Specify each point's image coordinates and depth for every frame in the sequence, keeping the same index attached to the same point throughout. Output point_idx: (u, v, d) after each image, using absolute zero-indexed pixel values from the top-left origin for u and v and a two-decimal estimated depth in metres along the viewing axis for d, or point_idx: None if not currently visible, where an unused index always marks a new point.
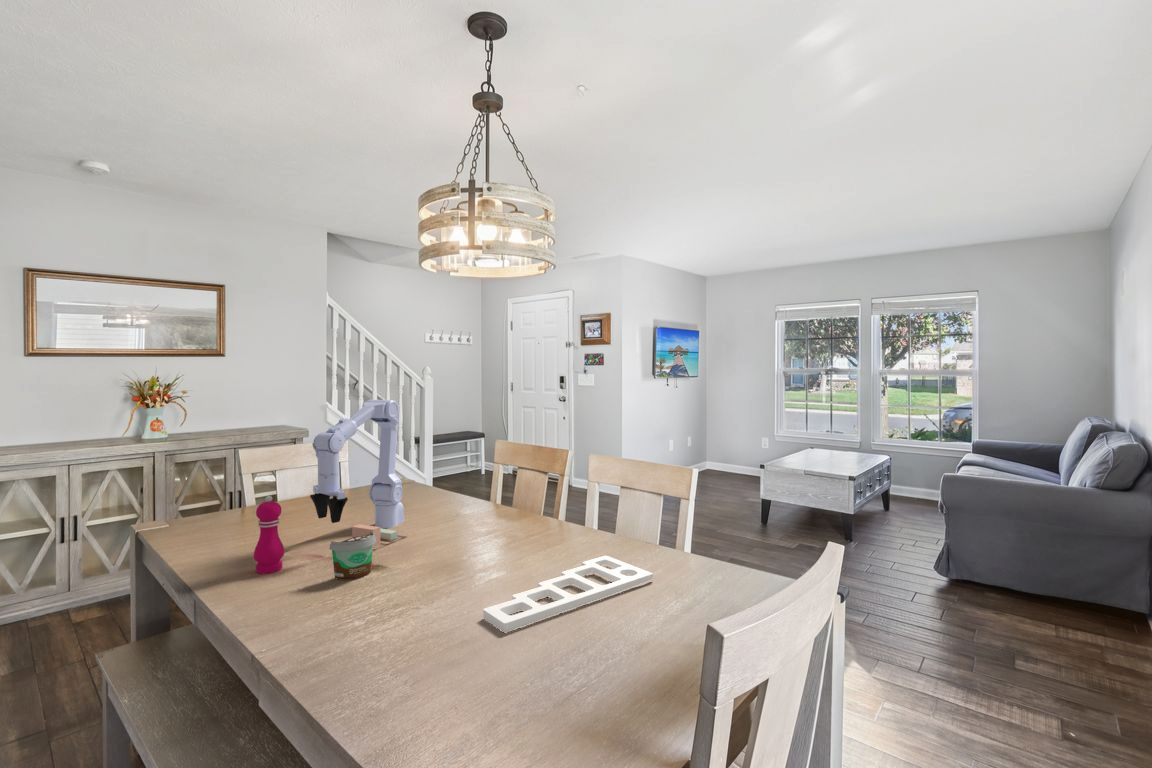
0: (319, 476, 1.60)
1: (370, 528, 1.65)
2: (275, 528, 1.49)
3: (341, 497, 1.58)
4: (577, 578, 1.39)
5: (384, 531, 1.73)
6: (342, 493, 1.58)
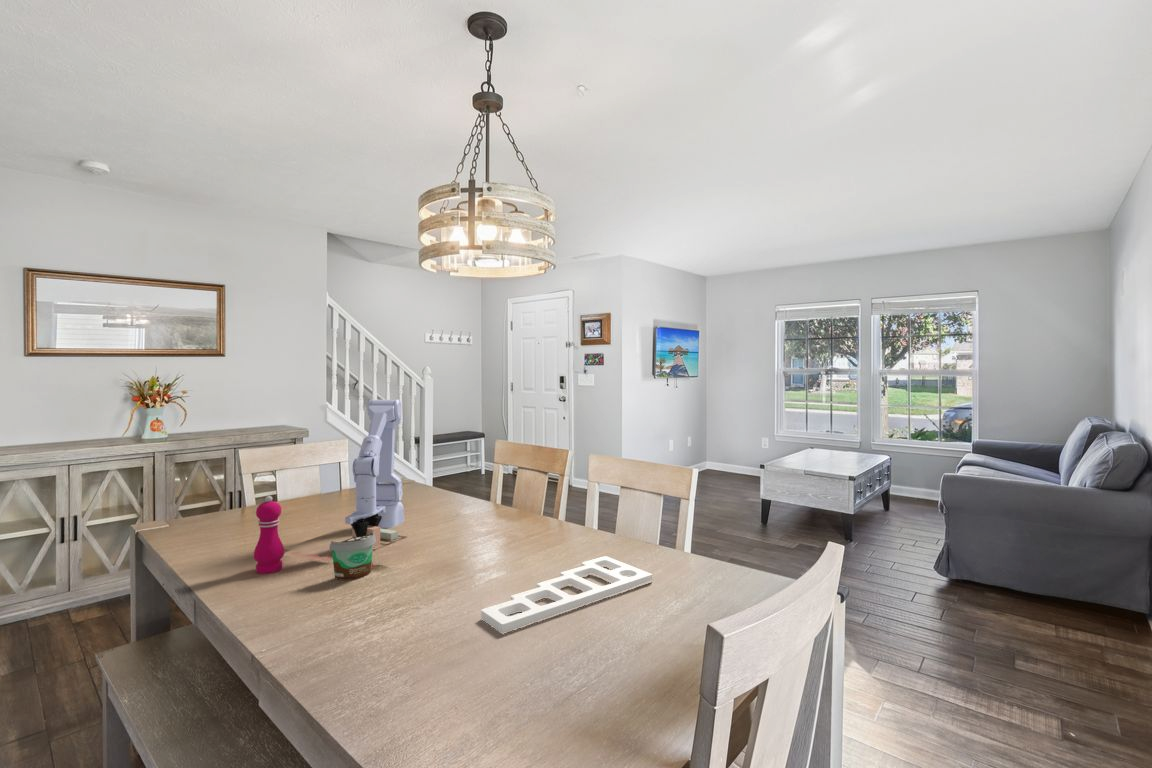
0: None
1: (370, 528, 1.65)
2: (275, 528, 1.49)
3: (347, 522, 1.60)
4: (576, 579, 1.39)
5: (384, 531, 1.73)
6: (348, 518, 1.59)
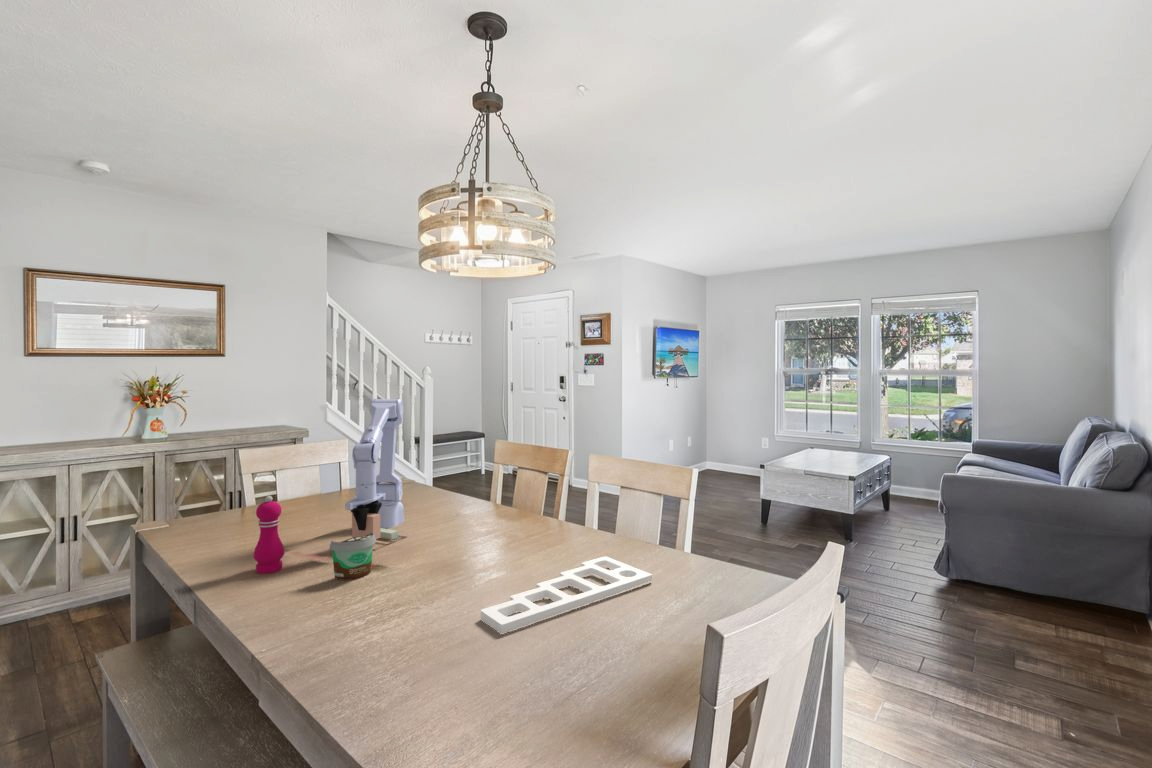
0: None
1: (370, 515, 1.65)
2: (275, 528, 1.49)
3: (347, 508, 1.60)
4: (576, 579, 1.39)
5: (385, 531, 1.74)
6: (348, 504, 1.59)
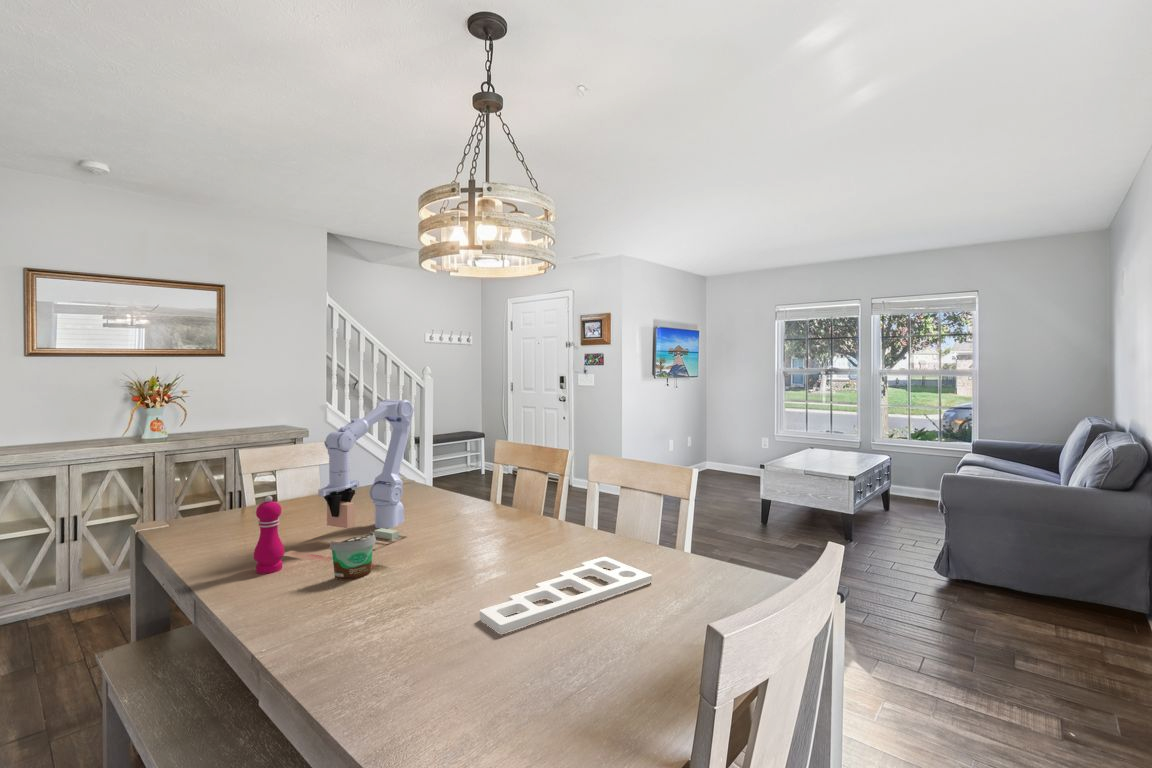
0: None
1: (344, 504, 1.68)
2: (275, 528, 1.49)
3: (320, 495, 1.63)
4: (575, 579, 1.39)
5: (385, 531, 1.74)
6: (321, 491, 1.63)
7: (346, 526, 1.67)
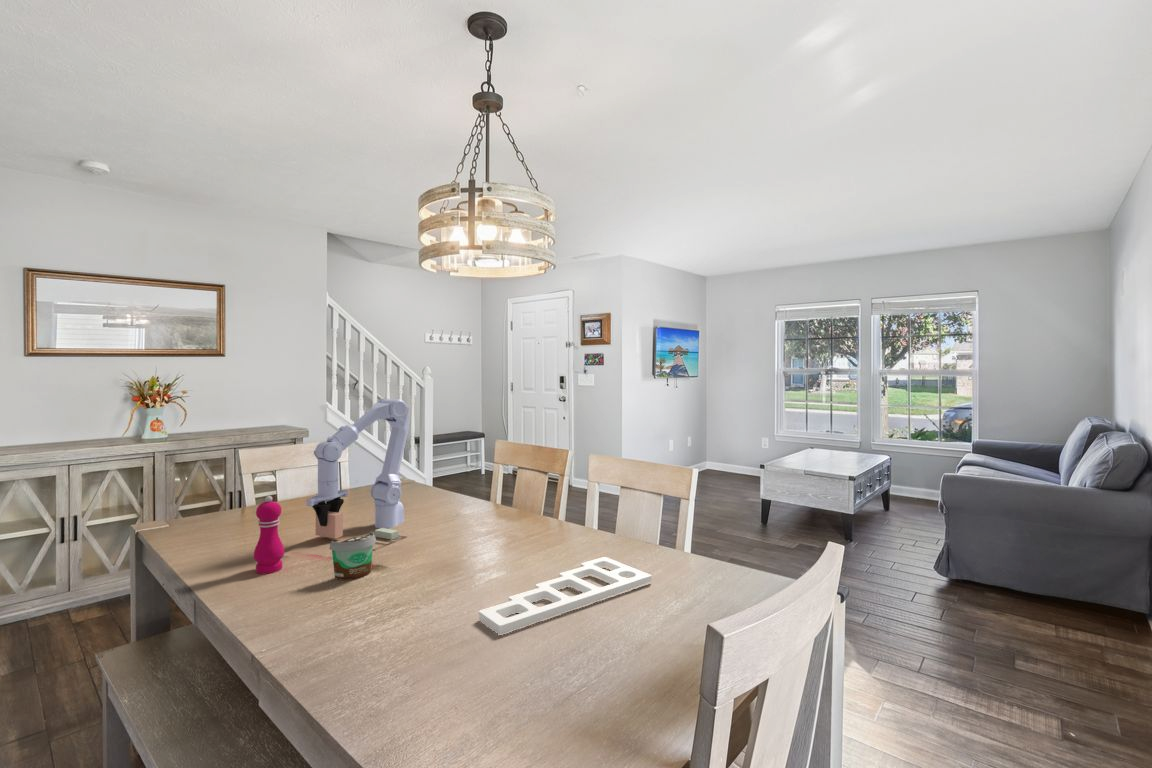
0: None
1: (333, 514, 1.70)
2: (275, 528, 1.49)
3: (308, 504, 1.65)
4: (575, 580, 1.38)
5: (385, 531, 1.74)
6: (309, 501, 1.65)
7: (334, 536, 1.69)
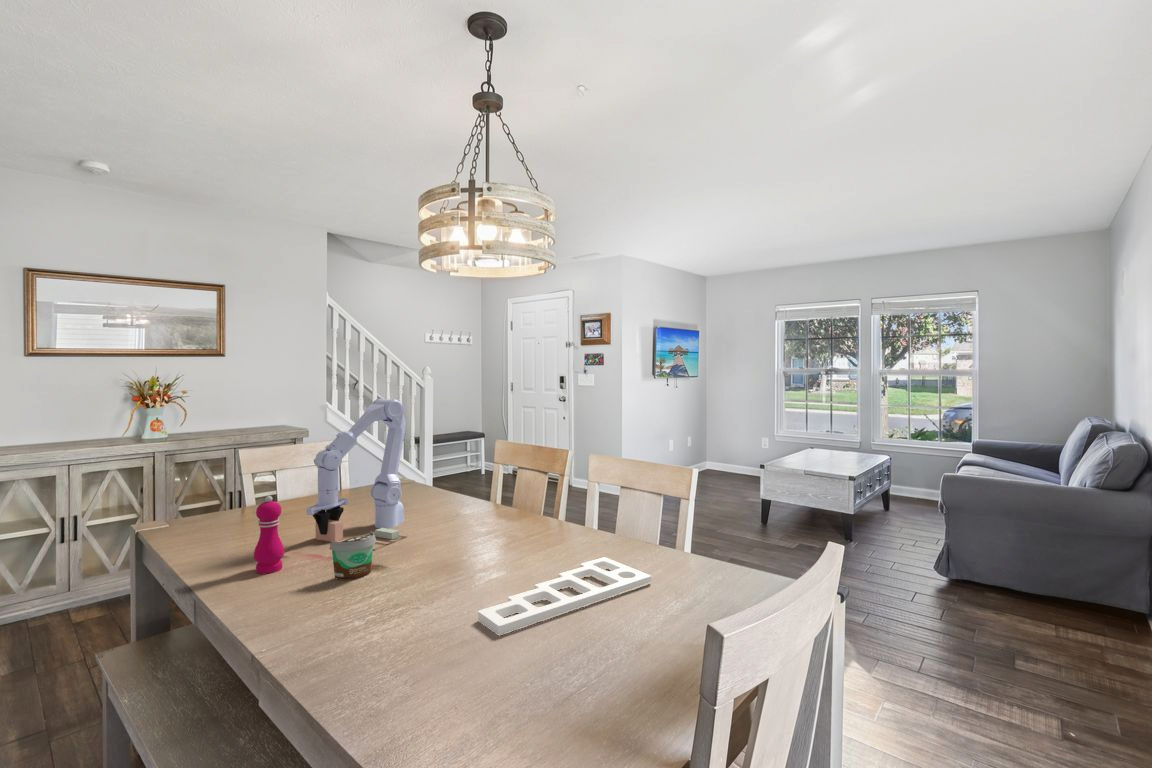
0: None
1: (333, 522, 1.70)
2: (275, 528, 1.49)
3: (308, 513, 1.65)
4: (574, 580, 1.38)
5: (386, 530, 1.74)
6: (309, 510, 1.65)
7: None
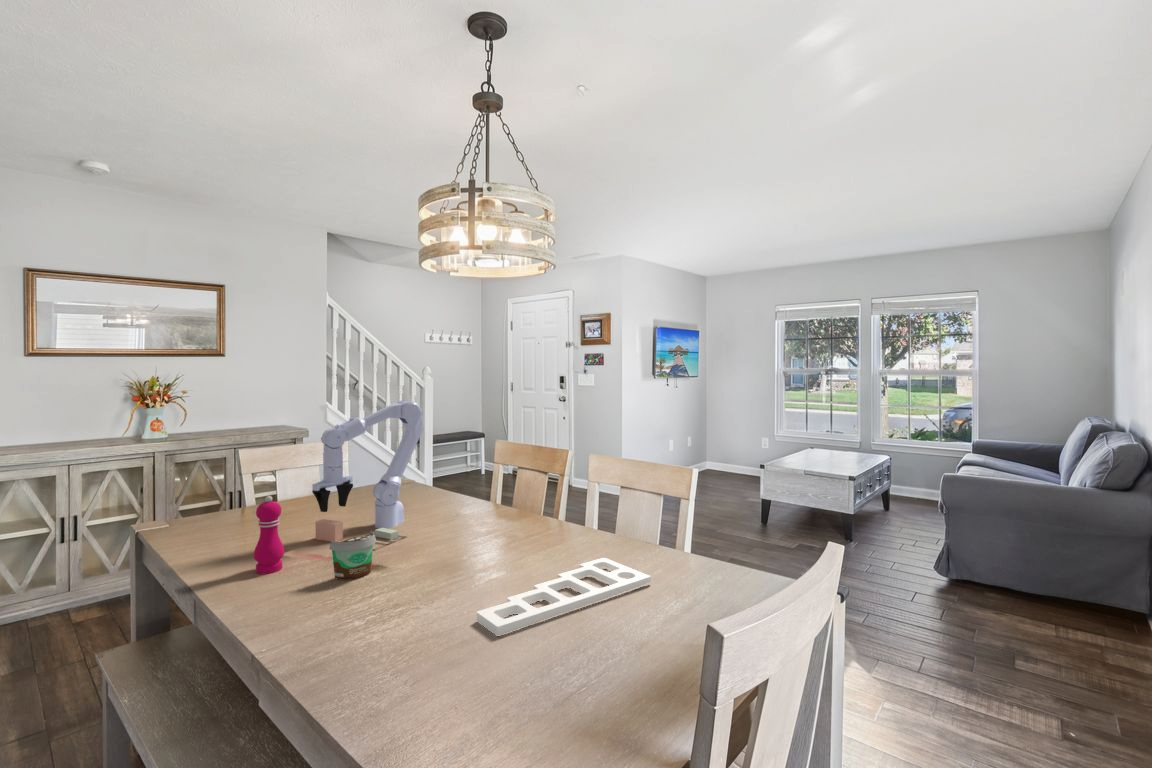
0: None
1: (333, 523, 1.70)
2: (275, 528, 1.49)
3: (314, 489, 1.71)
4: (574, 581, 1.38)
5: (385, 530, 1.74)
6: (315, 485, 1.71)
7: None
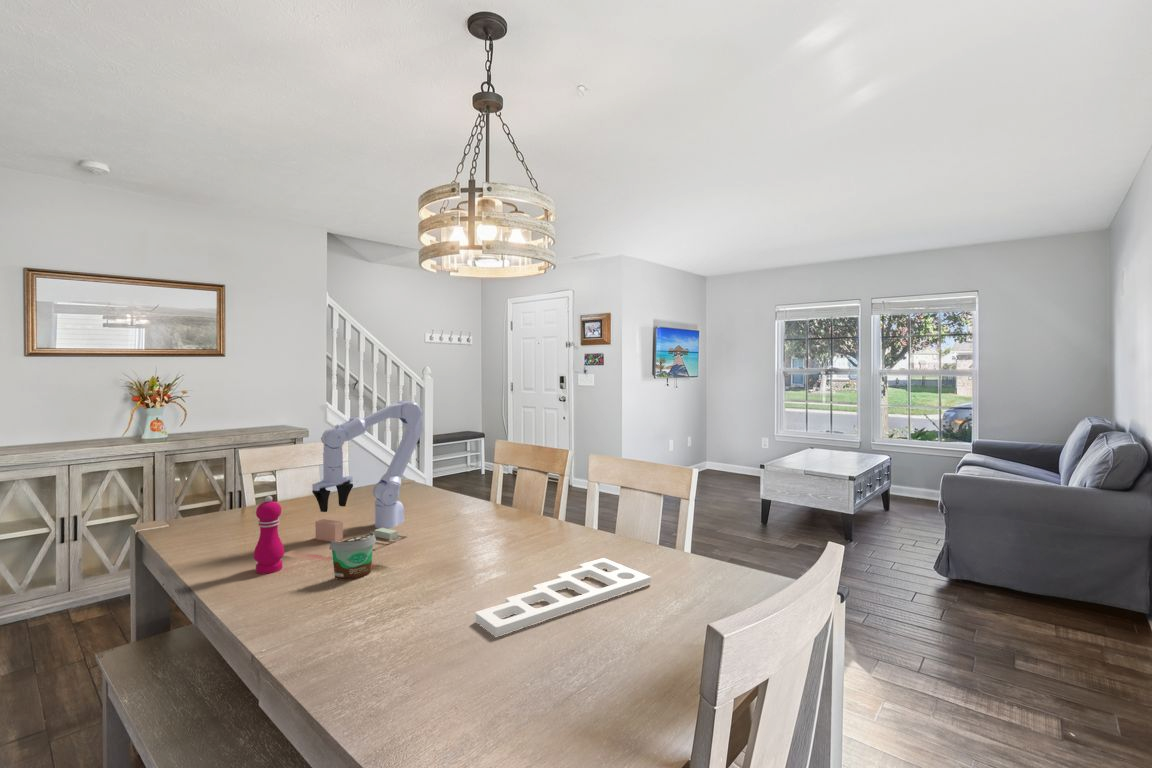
0: None
1: (333, 523, 1.70)
2: (275, 528, 1.49)
3: (314, 489, 1.71)
4: (573, 581, 1.37)
5: (384, 531, 1.74)
6: (315, 485, 1.71)
7: None
